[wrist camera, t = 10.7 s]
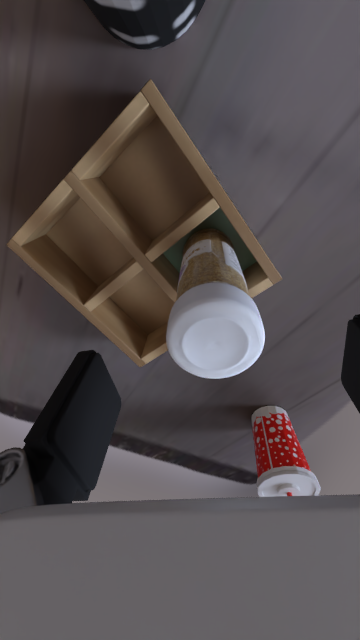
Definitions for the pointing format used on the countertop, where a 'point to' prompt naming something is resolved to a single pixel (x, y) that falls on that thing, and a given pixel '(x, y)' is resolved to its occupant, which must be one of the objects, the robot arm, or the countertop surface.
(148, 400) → the countertop surface
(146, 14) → the spotted tube
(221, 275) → the sprinkles bottle
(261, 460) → the beverage cup
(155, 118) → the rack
